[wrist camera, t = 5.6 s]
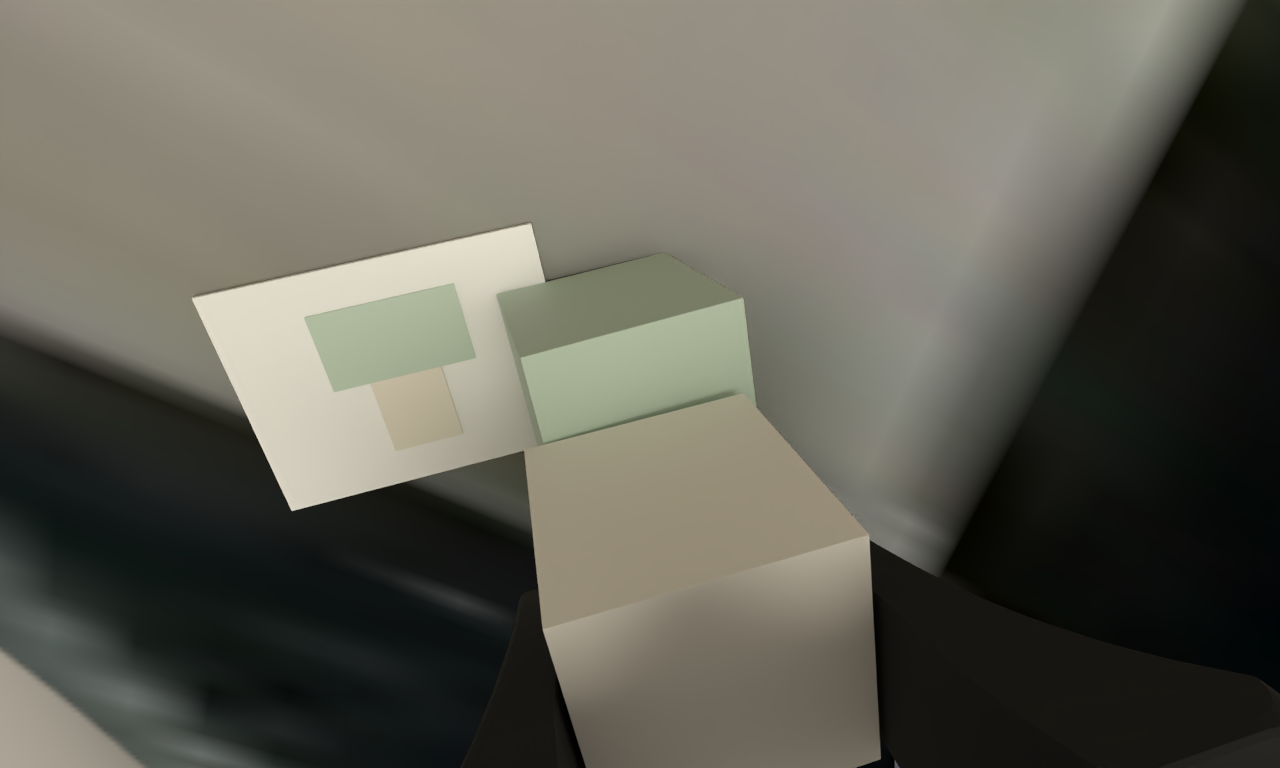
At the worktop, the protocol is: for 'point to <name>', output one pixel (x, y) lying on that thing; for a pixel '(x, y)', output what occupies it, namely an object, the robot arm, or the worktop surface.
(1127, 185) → the worktop surface
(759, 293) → the worktop surface
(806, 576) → the ivory brick
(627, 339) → the sage brick
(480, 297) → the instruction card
